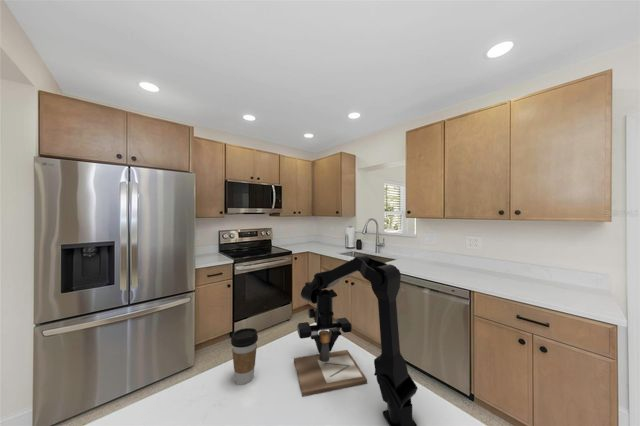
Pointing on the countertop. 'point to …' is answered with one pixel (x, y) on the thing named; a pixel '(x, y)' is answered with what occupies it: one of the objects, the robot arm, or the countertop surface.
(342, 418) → the countertop surface
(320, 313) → the robot arm
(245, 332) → the coffee cup
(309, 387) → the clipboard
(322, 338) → the black and orange cylinder
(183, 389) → the countertop surface
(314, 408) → the countertop surface
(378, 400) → the countertop surface
